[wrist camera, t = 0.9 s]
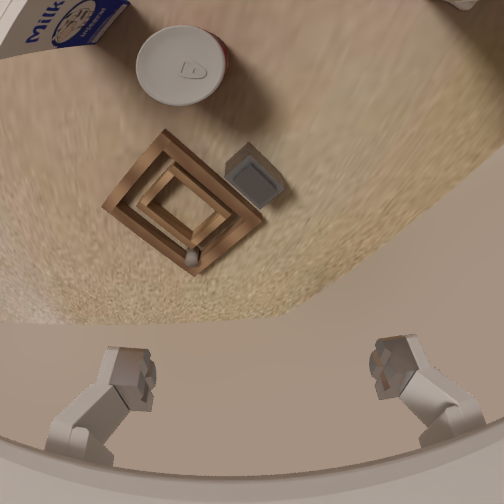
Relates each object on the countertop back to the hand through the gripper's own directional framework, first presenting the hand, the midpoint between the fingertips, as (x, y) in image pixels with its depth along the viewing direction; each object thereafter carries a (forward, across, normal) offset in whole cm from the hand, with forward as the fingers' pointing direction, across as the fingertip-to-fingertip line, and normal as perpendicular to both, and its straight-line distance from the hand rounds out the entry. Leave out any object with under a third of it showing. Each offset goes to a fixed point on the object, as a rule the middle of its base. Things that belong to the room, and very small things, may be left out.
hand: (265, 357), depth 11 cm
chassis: (+33, +8, +10) cm, 36 cm away
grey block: (+33, -1, +6) cm, 34 cm away
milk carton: (+33, +18, -18) cm, 42 cm away
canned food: (+33, +6, -9) cm, 35 cm away
